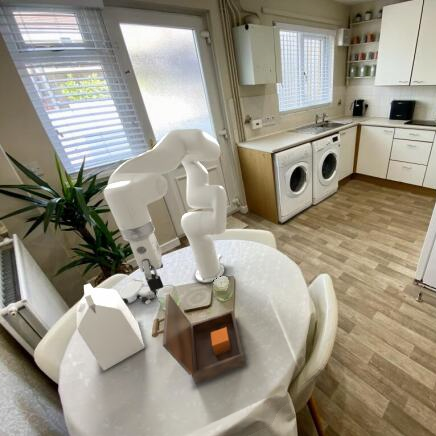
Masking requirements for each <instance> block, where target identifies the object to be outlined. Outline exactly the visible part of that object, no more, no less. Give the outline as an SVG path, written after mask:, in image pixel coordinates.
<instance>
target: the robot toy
mask: <svg viewBox="0 0 436 436" xmlns="http://www.w3.org/2000/svg"><path fill="white" fill-rule="evenodd" d="M130 280H131V281H129V282H128V283H126V284H125V285H123V287H121V288H120V290H119V291H118V293H119V295H120V297H121V298H122V300H123V301H124V303H125V304H131V303H133V302H135V301H136V300H137V299H138V300H140V301H141V302H142V303H143V304H145V305H149V304H150V303H151V302H152V301H151V300H150V299H154V298H155V297H156V296H157V295H156V292H157V293H158V289H157V290H154V291H151V290H150V288H149V286H148V285H145V283H144V282H143V280H140V279H135V278H130Z"/></svg>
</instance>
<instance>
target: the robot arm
mask: <svg viewBox="0 0 436 436" xmlns="http://www.w3.org/2000/svg"><path fill="white" fill-rule="evenodd" d="M220 157H221V147H220V144H219V143H218V141H217V140H216V139H215V138H214V137H213V136H211V135H210V134H208V133H207V132H206V131H204V130H201V129H200V128H183V129H172V130H170V131H168V132H167V133H166V134H165V135H164V136H163V137H162V138H161V140H159V142H158V143H157V144H156V145H155V146H154V147H153V148H152V149H150V150H147V151H145V152H142V153H141V154H138V155H136V156H135V157H132V158H130V159H127V160H125V162H123V163H122V164H120V165H119V166H118V167H117V168H116V169H115V170H114V172H112V174H111V175H110V176H109V179H108V181H107V186H105V188H104V189H103V196H104V199H105V201H106V203H107V205H108V207H109V210H110V212H111V214H112V216H113V218H114V221H115V223H116V226H117V228H118V230H119V233H120V234H121V237H122V239H123V240H124V241H126V242H129V245H130V250H131V251H132V254H133V256H134V259H135V262H136V263H137V266H138V268H139V270H140V272H142V273H143V274H144V277H145V281H146V283H147V286H149V288H150V290H151V291H154V290H157V291H158V290H160V289H163V288H164V284H163V282H162V279H161V276H160V275H159V274H158V270H160V269H163V268H164V264H163V252H162V249H161V246H160V244H159V242H158V239H157V237H156V235H155V232H156V228H155V225H154V222H153V220H152V217H151V215H150V214H151V213H150V210H149V208H148V205H149V204H152V203H154V202H157V201H159V200H161V199H162V198H163V197H164V196H165V195H166V194H167V192H168V188H169V187H168V181H167V179H166V178H165V177H164V176H163V175H166V174H168V173H170V172H173V171H175V170H177V168H178V167H179V166H180V164H182V166H183V168H184V170H185V174H186V193H185V195H186V196H185V197H186V204H187V206H188V207H189V208H192V209H212V210H211V211H210V210H209V211H208V210H207V211H206V210H205V211H204V210H201V211H200V210H199V211H189V212H186V213H184V214H183V215H182V217H181V219H180V226H181V229H182V231H183V233H184V234H185V236H186V238H187V240H188V244H189V246H190V250H191V252H192V256H193V259H194V262H195V266H196V269H197V270H196V272H195V278H196V280H197V281H198V282H200V283H205V284H206V283H212V282H214V281H213V280H214V279H215V278H217V277H218V276H221V277H222V276H223V274H224V273H225V267H224V265H223V264H222V263H221V260H222V259H223V257H224V256H223V254H219V255H218V253H217V249H216V245H215V240H214V238H213V236H214V235H215V236H216V235H222V234H224V233H225V231H226V230H227V221H228V220H227V217H228V216H227V215H228V196H227V192H226V189H225V188H224V187H223V186H222V185H219V184H210V175H209V172H208V170H207V169H206V168H205V166H204V165H203V164H202V163H204V162H216V161H218V160H219V159H220ZM212 235H213V236H212ZM152 271H153V273H152Z"/></svg>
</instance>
